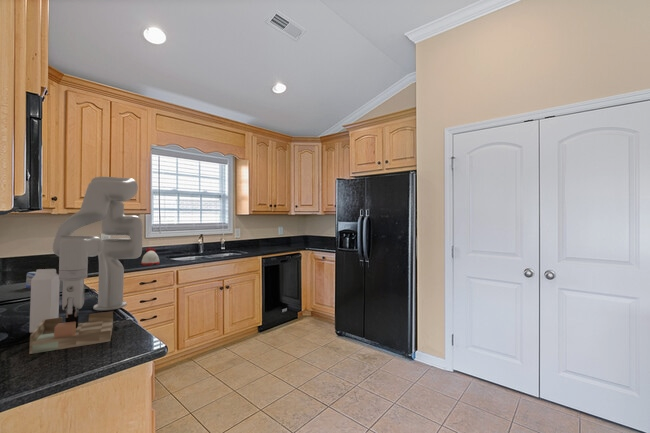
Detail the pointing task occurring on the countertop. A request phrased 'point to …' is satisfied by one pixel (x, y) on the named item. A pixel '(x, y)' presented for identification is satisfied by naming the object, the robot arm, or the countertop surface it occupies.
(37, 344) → the wooden cubby shelf
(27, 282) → the medicine box
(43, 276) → the milk
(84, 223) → the robot arm
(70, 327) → the block
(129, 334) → the countertop surface
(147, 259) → the kitchen timer
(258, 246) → the countertop surface
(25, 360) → the countertop surface
